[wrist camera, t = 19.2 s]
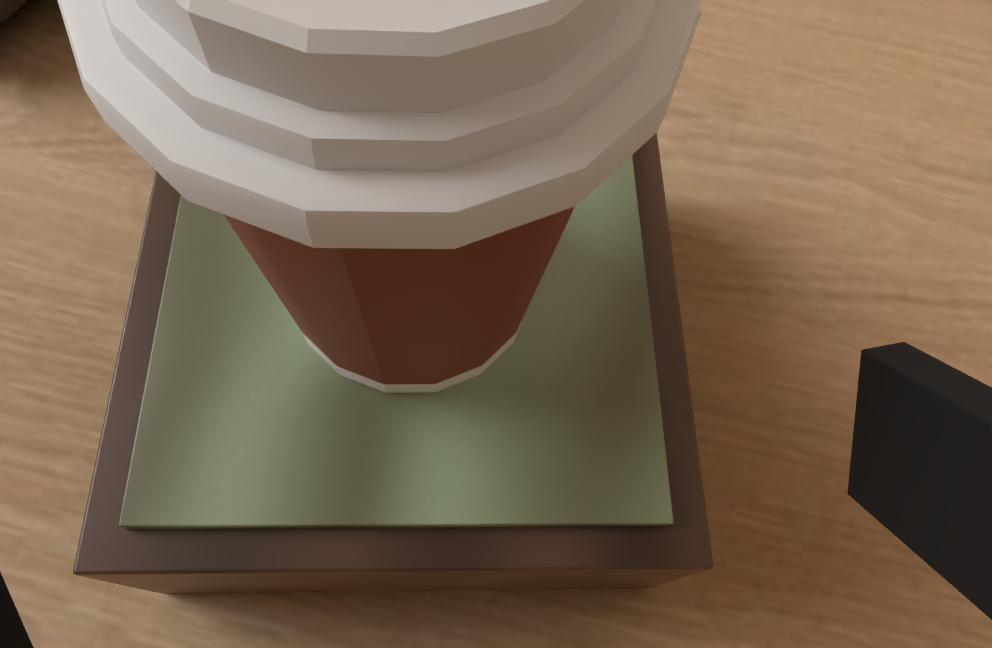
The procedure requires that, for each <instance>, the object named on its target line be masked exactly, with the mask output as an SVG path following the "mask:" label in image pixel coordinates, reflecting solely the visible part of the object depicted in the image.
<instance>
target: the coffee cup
mask: <svg viewBox="0 0 992 648" xmlns="http://www.w3.org/2000/svg"><path fill="white" fill-rule="evenodd" d="M58 4H59V7H60V10H61V14H62V17H63V20H64V24H65V27H66V31H67V34H68V37H69V41H70V44H71V47H72V51H73V54H74V57H75V61H76V64H77V68H78V71H79V74H80V78H81V81H82V84H83V88H84V90H85V91H86V93H87V94H88V96H89V98H90V99H91V101H92V102H93V104H94V106H95V107H96V109H97V110H98V112H99V114H100V115H101V117H102V118H103V120H104V121H105V122H106V123H107V124H108V125H109V126H110V127H111V128H112V129H113V130H114V131H115V132H116V133H117V134H118V135H119V136H121V137H122V138H123V139H124V140H125V141H126V142H127V143H128V144H129V145H130V146H131V147H132V148H133V149H134V150H135V151H136V152H137V153H138V154H139V155H140V156H141V157H142V158H143V159H144V160H145V161H147V162H148V163H149V164H150V165H151V166H152V167H153V168H154V169H155V170H156V171H157V172H158V173H159V174H160V175H161V176H162V177H163V178H164V179H165V180H166V181H167V182H168V183H169V184H170V185H171V186H173V187H174V188H175V189H176V190H177V191H178V192H179V193H180V194H181V195H182V196H183V197H184V198H185V199H186V200H187V201H189V202H192V203H195V204H197V205H200V206H203V207H205V208H208V209H211V210H213V211H216V212H219V213H222V214H223V215H224V216H225V218H226V219H227V221H228V222H229V224H230V225H231V227H232V228H233V230H234V231H235V232H236V234H237V235H238V237H239V238H240V240H241V241H242V243H243V244H244V246H245V247H246V249H247V250H248V252H249V253H250V255H251V256H252V258H253V259H254V261H255V262H256V264H257V265H258V267H259V268H260V270H261V271H262V273H263V274H264V276H265V277H266V279H267V280H268V282H269V283H270V285H271V286H272V288H273V289H274V291H275V292H276V294H277V295H278V297H279V298H280V300H281V301H282V303H283V304H284V306H285V307H286V309H287V310H288V312H289V313H290V315H291V316H292V318H293V319H294V321H295V322H296V324H297V325H298V327H299V328H300V330H301V331H302V333H303V335H304V337H305V340H306V342H307V343H308V344H309V345H310V346H311V347H312V348H313V349H314V350H315V351H316V352H317V353H318V354H319V355H320V356H321V357H322V358H323V359H324V360H325V361H326V362H327V363H328V364H329V365H330V366H331V367H332V368H333V369H334V370H335V371H336V372H337V373H338V374H339V375H341V376H344V377H346V378H349V379H351V380H354V381H357V382H359V383H362V384H364V385H367V386H369V387H372V388H375V389H377V390H380V391H382V392H385V393H421V392H438V391H440V390H443V389H445V388H448V387H450V386H453V385H455V384H458V383H460V382H463V381H465V380H468V379H470V378H473V377H475V376H478V375H480V374H482V373H483V372H484V371H485V370H486V369H487V368H488V367H489V366H490V365H491V364H492V363H493V362H494V361H495V360H496V359H497V358H498V357H499V356H500V355H501V354H502V353H503V352H504V351H505V350H506V349H507V348H508V347H509V346H511V345H512V344H513V343H514V340H515V338H516V335H517V333H518V330H519V328H520V325H521V323H522V320H523V318H524V315H525V313H526V311H527V308H528V306H529V304H530V302H531V300H532V298H533V296H534V293H535V291H536V289H537V287H538V285H539V283H540V280H541V278H542V276H543V274H544V272H545V270H546V268H547V265H548V263H549V261H550V259H551V257H552V255H553V253H554V250H555V248H556V246H557V244H558V242H559V240H560V238H561V235H562V233H563V231H564V229H565V227H566V225H567V223H568V220H569V218H570V216H571V214H572V212H573V210H574V208H575V206H577V205H578V204H579V203H580V202H581V201H582V200H584V199H585V198H586V197H587V196H588V195H589V194H590V193H591V192H592V191H593V190H594V189H596V188H597V187H598V186H599V185H600V184H601V183H602V182H603V181H604V180H605V179H606V178H608V177H609V176H610V175H611V174H612V173H613V172H614V171H615V170H616V169H617V168H618V167H620V166H621V165H622V164H623V163H624V162H625V161H626V160H627V159H628V158H629V157H630V156H632V155H633V154H634V153H635V152H636V151H637V150H638V149H639V148H640V147H641V146H642V145H644V144H645V143H646V142H647V141H648V140H649V139H650V138H651V137H652V136H653V135H654V134H656V133H657V131H658V129H659V126H660V124H661V122H662V119H663V117H664V115H665V112H666V110H667V107H668V105H669V103H670V100H671V97H672V94H673V91H674V89H675V86H676V83H677V80H678V77H679V74H680V72H681V69H682V66H683V63H684V60H685V58H686V55H687V52H688V49H689V46H690V43H691V41H692V38H693V35H694V32H695V29H696V26H697V24H698V21H699V18H700V15H701V10H700V3H699V0H58Z"/></svg>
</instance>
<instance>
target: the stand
mask: <svg viewBox="0 0 992 648" xmlns="http://www.w3.org/2000/svg"><path fill="white" fill-rule="evenodd" d="M712 566H713V562H712V555H711V547H710V539H709V531H708V524H707V516H706V508H705V501H704V493H703V485H702V478H701V470H700V462H699V455H698V447H697V439H696V432H695V424H694V416H693V409H692V401H691V393H690V386H689V378H688V370H687V363H686V355H685V347H684V339H683V332H682V324H681V316H680V309H679V301H678V293H677V286H676V278H675V270H674V263H673V255H672V247H671V240H670V232H669V224H668V217H667V209H666V201H665V194H664V186H663V178H662V171H661V163H660V155H659V147H658V140H657V133H656V134H654V135H653V136H652V137H651V138H650V139H649V140H648V141H647V142H646V143H645V144H644V145H642V146H641V147H640V148H639V149H638V150H637V151H636V152H635V153H634V154H633V155H632V156H630V157H629V158H628V159H627V160H626V161H625V162H624V163H623V164H622V165H621V166H620V167H618V168H617V169H616V170H615V171H614V172H613V173H612V174H611V175H610V176H609V177H608V178H606V179H605V180H604V181H603V182H602V183H601V184H600V185H599V186H598V187H597V188H596V189H594V190H593V191H592V192H591V193H590V194H589V195H588V196H587V197H586V198H585V199H584V200H582V201H581V202H580V203H579V204H578V205H577V206H575V208H574V210H573V212H572V214H571V216H570V218H569V220H568V223H567V225H566V227H565V229H564V231H563V233H562V235H561V238H560V240H559V242H558V244H557V246H556V248H555V250H554V253H553V255H552V257H551V259H550V261H549V263H548V265H547V268H546V270H545V272H544V274H543V276H542V278H541V280H540V283H539V285H538V287H537V289H536V291H535V293H534V296H533V298H532V300H531V302H530V304H529V306H528V308H527V311H526V313H525V315H524V318H523V320H522V323H521V325H520V328H519V330H518V333H517V335H516V338H515V340H514V343H513V344H512V345H511V346H509V347H508V348H507V349H506V350H505V351H504V352H503V353H502V354H501V355H500V356H499V357H498V358H497V359H496V360H495V361H494V362H493V363H492V364H491V365H490V366H489V367H488V368H487V369H486V370H485V371H484V372H483V373H482V374H480V375H478V376H475V377H473V378H470V379H468V380H465V381H463V382H460V383H458V384H455V385H453V386H450V387H448V388H445V389H443V390H440V391H438V392H421V393H385V392H382V391H380V390H377V389H375V388H372V387H369V386H367V385H364V384H362V383H359V382H357V381H354V380H351V379H349V378H346V377H344V376H341V375H339V374H338V373H337V372H336V371H335V370H334V369H333V368H332V367H331V366H330V365H329V364H328V363H327V362H326V361H325V360H324V359H323V358H322V357H321V356H320V355H319V354H318V353H317V352H316V351H315V350H314V349H313V348H312V347H311V346H310V345H309V344H308V343H307V342H306V340H305V337H304V335H303V333H302V331H301V330H300V328H299V327H298V325H297V324H296V322H295V321H294V319H293V318H292V316H291V315H290V313H289V312H288V310H287V309H286V307H285V306H284V304H283V303H282V301H281V300H280V298H279V297H278V295H277V294H276V292H275V291H274V289H273V288H272V286H271V285H270V283H269V282H268V280H267V279H266V277H265V276H264V274H263V273H262V271H261V270H260V268H259V267H258V265H257V264H256V262H255V261H254V259H253V258H252V256H251V255H250V253H249V252H248V250H247V249H246V247H245V246H244V244H243V243H242V241H241V240H240V238H239V237H238V235H237V234H236V232H235V231H234V230H233V228H232V227H231V225H230V224H229V222H228V221H227V219H226V218H225V216H224V215H223V214H222V213H219V212H216V211H213V210H211V209H208V208H205V207H203V206H200V205H197V204H195V203H192V202H189V201H187V200H186V199H185V198H184V197H183V196H182V195H181V194H180V193H179V192H178V191H177V190H176V189H175V188H174V187H173V186H171V185H170V184H169V183H168V182H167V181H166V180H165V179H164V178H163V177H162V176H161V175H160V174H159V173H158V172H157V171H156V174H155V179H154V184H153V188H152V193H151V198H150V203H149V208H148V212H147V217H146V222H145V227H144V232H143V236H142V241H141V246H140V251H139V256H138V261H137V265H136V270H135V275H134V280H133V285H132V289H131V294H130V299H129V304H128V309H127V314H126V318H125V323H124V328H123V333H122V338H121V342H120V347H119V352H118V357H117V362H116V367H115V371H114V376H113V381H112V386H111V391H110V395H109V400H108V405H107V410H106V415H105V420H104V424H103V429H102V434H101V439H100V444H99V448H98V453H97V458H96V463H95V468H94V473H93V477H92V482H91V487H90V492H89V497H88V501H87V506H86V511H85V516H84V521H83V526H82V530H81V535H80V540H79V545H78V550H77V554H76V559H75V564H74V569H73V573H74V574H75V575H79V576H83V577H88V578H93V579H97V580H102V581H107V582H111V583H116V584H121V585H125V586H130V587H135V588H139V589H144V590H149V591H153V592H158V593H163V594H169V593H255V592H342V591H428V590H514V589H601V588H649V587H652V586H655V585H659V584H662V583H665V582H668V581H672V580H675V579H678V578H682V577H685V576H688V575H691V574H695V573H698V572H701V571H704V570H708V569H710V568H712Z"/></svg>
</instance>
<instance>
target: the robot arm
mask: <svg viewBox="0 0 992 648" xmlns="http://www.w3.org/2000/svg"><path fill="white" fill-rule="evenodd" d="M848 495H850V496H851V497H852V498H853V499H854V500H855V501H856V502H858V503H859V504H860V505H861V506H862V507H863V508H864V509H866V510H867V511H868V512H869V513H870V514H871V515H872V516H874V517H875V518H876V519H877V520H878V521H879V522H880V523H882V524H883V525H884V526H885V527H886V528H887V529H888V530H890V531H891V532H892V533H893V534H894V535H895V536H896V537H898V538H899V539H900V540H901V541H902V542H903V543H904V544H906V545H907V546H908V547H909V548H910V549H911V550H912V551H914V552H915V553H916V554H917V555H918V556H919V557H921V558H922V559H923V560H924V561H925V562H926V563H927V564H929V565H930V566H931V567H932V568H933V569H934V570H935V571H937V572H938V573H939V574H940V575H941V576H942V577H943V578H945V579H946V580H947V581H948V582H949V583H950V584H951V585H953V586H954V587H955V588H956V589H957V590H958V591H959V592H961V593H962V594H963V595H964V596H965V597H966V598H967V599H969V600H970V601H971V602H972V603H973V604H974V605H975V606H977V607H978V608H979V609H980V610H981V611H982V612H983V613H985V614H986V615H987V616H988V617H989V618H990V619H991V620H992V388H991V387H989V386H988V385H986V384H984V383H982V382H980V381H978V380H976V379H974V378H972V377H970V376H968V375H966V374H965V373H963V372H961V371H959V370H957V369H955V368H953V367H951V366H949V365H947V364H945V363H943V362H942V361H940V360H938V359H936V358H934V357H932V356H930V355H928V354H926V353H924V352H922V351H920V350H918V349H917V348H915V347H913V346H911V345H909V344H907V343H905V342H901V343H896V344H891V345H885V346H880V347H875V348H869V349H864V350H862V351H861V361H860V371H859V381H858V392H857V402H856V412H855V423H854V433H853V443H852V453H851V464H850V474H849V484H848ZM0 648H33V646H32V643H31V641H30V639H29V637H28V634H27V632H26V630H25V627H24V625H23V623H22V621H21V618H20V616H19V614H18V611H17V609H16V607H15V605H14V602H13V600H12V598H11V595H10V593H9V591H8V588H7V586H6V584H5V582H4V579H3V577H2V575H1V572H0Z"/></svg>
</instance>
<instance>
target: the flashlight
mask: <svg viewBox="0 0 992 648" xmlns="http://www.w3.org/2000/svg"><path fill="white" fill-rule="evenodd" d="M26 1H27V0H0V22H2V21H4V20H6V19H8V18H10V17H11V16H12V15H13V14H14V13H15V12H16V11H17V10H18V9H19V8H20V7H21V6H22V5H23V4H24V3H25V2H26Z"/></svg>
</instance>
